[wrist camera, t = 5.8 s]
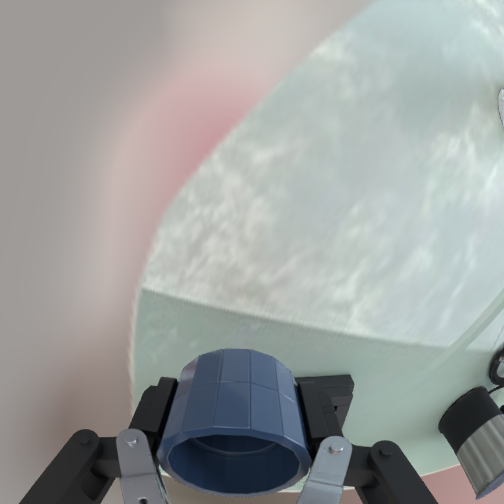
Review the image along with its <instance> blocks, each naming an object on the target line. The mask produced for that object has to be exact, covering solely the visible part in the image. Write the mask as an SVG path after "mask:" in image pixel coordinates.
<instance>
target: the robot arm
mask: <svg viewBox="0 0 504 504" xmlns="http://www.w3.org/2000/svg"><path fill="white" fill-rule="evenodd" d="M177 383H178V382H177V379H176V378H167V377H161V378H160V380H159V383H158V386H150V387H149V388H147V389H146V390H145V391H144V393H143V395H142V397H141V401H140V402H139V404H138V407H137V409H136V411H135V414H134V416H133V418H132V421H131V423H130V426H129V428H128V429H126V430H124V431H122V432H120V433H119V434H118V436H117V437H98V435H97V434H96V433H95V432H94V431H92V430H88V429H83V430H79V431H77V432H76V433H74V434H73V436H72V437H71V438H70V439H69V441H68V442H67V443H66V444H65V446H64V447H63V448H62V449H61V451H60V452H59V453H58V454H57V456H56V457H55V458H54V459H53V461H52V462H51V463H50V465H49V466H48V467H47V468H46V470H45V471H44V472H43V473H42V475H41V476H40V477H39V478H38V480H37V481H36V482H35V484H34V485H33V486H32V487H31V489H30V490H29V491H28V493H27V494H26V495H25V497H24V498H23V499H22V500H21V502H20V503H19V504H100V503H101V502H102V500H103V498H104V497H105V495H106V493H107V492H108V490H109V488H110V487H111V485H112V483H113V482H114V480H115V478H116V477H120V486H121V491H122V496H123V500H124V504H171V501H170V499H169V496H168V493H167V490H166V487H165V484H164V482H163V478H162V475H161V472H160V469H159V464H160V463H159V461H158V458H157V456H156V452H157V449H158V445H159V442H160V438H161V435H162V432H163V428H164V425H165V422H166V418H167V415H168V412H169V409H170V405H171V402H172V399H173V396H174V393H175V389H176V386H177ZM297 387H298V392H299V396H300V401H301V406H302V411H303V416H304V421H305V426H306V431H307V436H308V441H309V446H310V452H311V457H312V462H311V465H310V473H309V475H308V478H307V480H306V482H305V484H304V487H303V489H302V491H301V494H300V496H299V498H298V500H297V503H296V504H339V501H340V498H341V495H342V492H343V486H352V487H355V489H356V491H357V493H358V495H359V497H360V499H361V501H362V503H363V504H438V502H437V501H436V500H435V498H434V497H433V495H432V494H431V492H430V491H429V489H428V488H427V486H426V485H425V484H424V482H423V481H422V479H421V478H420V476H419V475H418V474H417V472H416V471H415V469H414V468H413V466H412V465H411V463H410V462H409V461H408V459H407V458H406V456H405V455H404V453H403V452H402V451H401V449H400V448H399V446H398V445H397V444H395V443H394V442H391V441H387V440H384V441H379V442H377V443H375V444H374V445H373V446H372V447H363V446H356V445H353V444H351V443H350V442H349V441H348V440H347V439H345V438H344V436H343V434H342V430H341V427H340V424H339V421H338V418H337V415H336V413H335V409H334V407H333V402H332V399H331V397H330V396H329V395H328V394H327V393H326V392H325V391H317V390H316V386H315V383H314V382H299V383H298V386H297Z"/></svg>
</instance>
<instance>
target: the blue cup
mask: <svg viewBox="0 0 504 504" xmlns="http://www.w3.org/2000/svg"><path fill="white" fill-rule="evenodd" d="M156 456H157V458H158V461H159V463H160V465H161V468H162V469H163V470H164V471H165V472H166V473H167V474H169V475H170V476H171V477H172V478H173V479H175V480H176V481H177V482H179V483H181V484H184V485H186V486H188V487H190V488H192V489H195V490H197V491H201V492H205V493H209V494H213V495H218V496H225V497H254V496H260V495H267V494H272V493H275V492H278V491H281V490H283V489H286V488H288V487H291V486H292V485H294V484H296V483H297V482H298V481H299V480H301V479H302V478H303V477H304V476H306V475H307V473H308V471H309V468H310V465H311V462H312V457H311V452H310V446H309V441H308V436H307V431H306V426H305V421H304V416H303V411H302V406H301V401H300V396H299V392H298V387H297V384H296V382H295V379H294V377H293V375H292V372H291V371H290V370H289V369H288V368H287V367H285V366H284V365H283V364H282V363H280V362H279V361H278V360H277V359H276V358H274V357H272V356H269V355H266V354H263V353H261V352H258V351H255V350H252V349H250V350H249V349H227V348H225V349H220V350H216V351H213V352H210V353H206V354H202V355H201V356H200V355H199V356H198V357H197V358H196V359H194V360H193V361H192V362H190V363H189V364H188V365H187V366H185V367H184V368H183V371H182V373H181V376H180V378H179V380H178V383H177V386H176V389H175V393H174V396H173V399H172V402H171V405H170V409H169V412H168V415H167V418H166V422H165V425H164V428H163V432H162V435H161V438H160V442H159V445H158V449H157V452H156Z"/></svg>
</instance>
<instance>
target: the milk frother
mask: <svg viewBox="0 0 504 504" xmlns="http://www.w3.org/2000/svg"><path fill="white" fill-rule="evenodd" d="M500 362H504V348H503V349H502V350H501V351H500V352H499V354H498V355H497V356H496V358H495V359H494V361H493V363H492V365H491V368H490V372H489V376H490V379H491V381H492V383H493V384H495V385H500V386H498V387H496V388H494V389H493V390H491V391H489V392H488V391H487V389H486V388H484V387H480V388H476V389H474V390H472V391H470V392H469V393H467V394H466V395H464V396H463V397H462V398H460V399H459V400H458V401H457V402H456V403H455V404H454V405H453V406H452V407H451V408H450V409H449V410H448V411H447V412H446V414H445V415H444V416H443V418H442V419H441V421H440V424H439V431H440V432H441V433H443V435H444V436H445V438H446V439H447V441H448V442H449V444H450V445H451V447H452V449H453V450H454V452H455V454H456V456H457V458H458V460H459V462H460V464H461V466H462V467H463V469H464V471H465V473H466V475H467V477H468V479H469V481H470V483H471V485H472V487H473V489H474V491H475V493H476V495H477V496H476V500H477V499H480V498H482V497H484V496H485V495H487V494H489V493H490V492H492V491H493V490H495V489H496V488H497V487H499V486H500V485H501V484H502V483H504V405H502V406H501V407H500V409H499V408H498V406H497V405H496V404H495V402H494V401H493V400H492V398H491V397H490V395H489V394H491V393H492V392H493V391H495V390H498V389H500V388H503V387H504V378H501V377H499V376H498V375H497V369H498V366H499V364H500Z"/></svg>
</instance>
